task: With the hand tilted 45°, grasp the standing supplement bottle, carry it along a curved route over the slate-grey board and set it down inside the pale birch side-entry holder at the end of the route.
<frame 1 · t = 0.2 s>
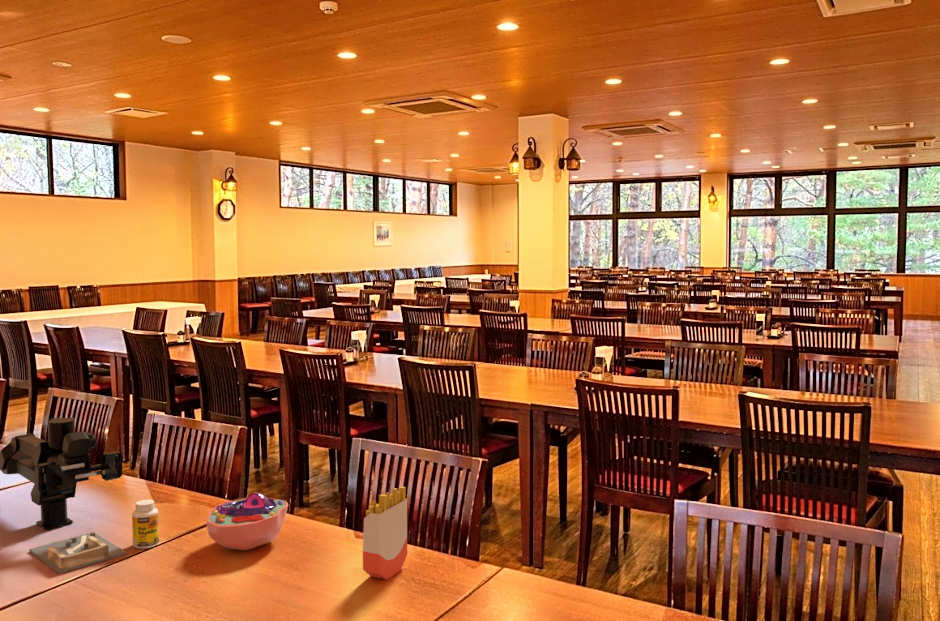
hand: (95, 479, 175), 17 cm above the table, tool horizontal, fingers open, 9 cm apart
french fries container: (385, 573, 165), on the table
cell model: (248, 545, 180), on the table
end holder: (77, 559, 171), resting on route board
route board: (77, 553, 175), on the table
supplement bottle: (146, 546, 179), on the table
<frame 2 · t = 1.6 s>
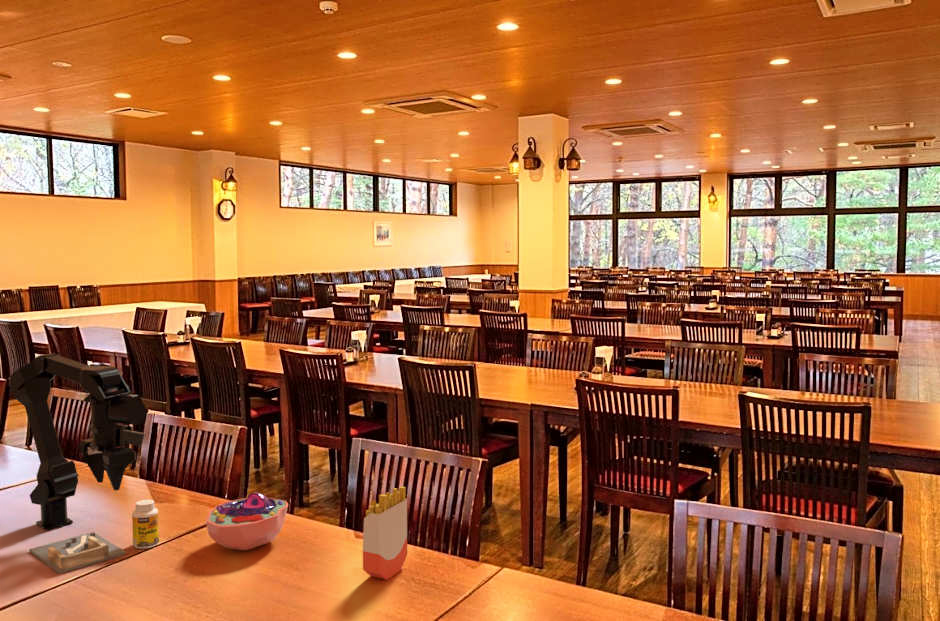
hand: (108, 486, 184), 12 cm above the table, tool pointing down, fingers open, 9 cm apart
nothing on the table moved.
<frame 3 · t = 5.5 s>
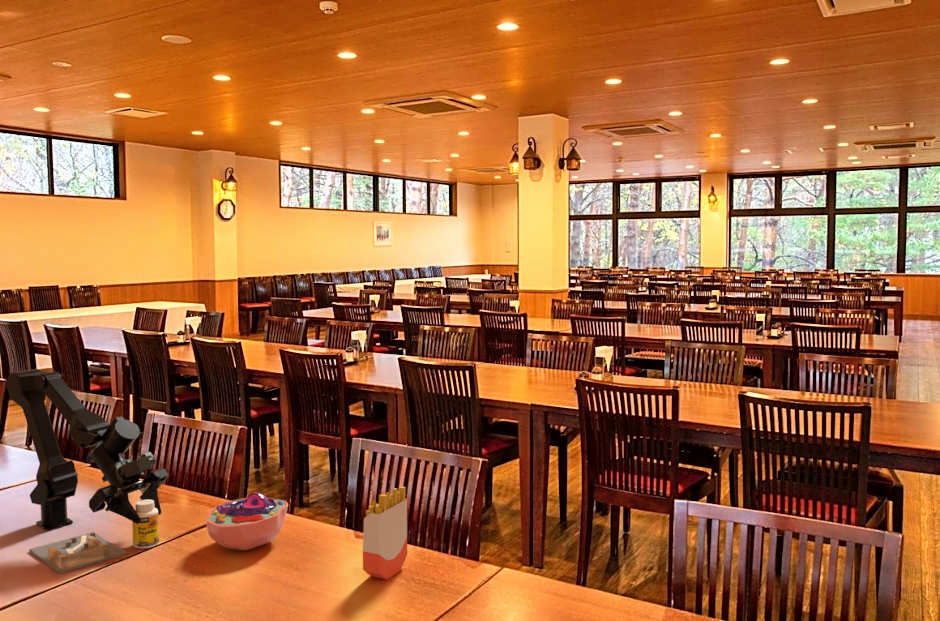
hand: (149, 518, 178), 7 cm above the table, tool tilted 45°, fingers closed on supplement bottle, 6 cm apart
supplement bottle: (146, 546, 179), on the table, touching gripper
everything else where it was.
when the fingers open (8 cm above the table, at t = 9.5 s): supplement bottle drops 1 cm, resting on route board.
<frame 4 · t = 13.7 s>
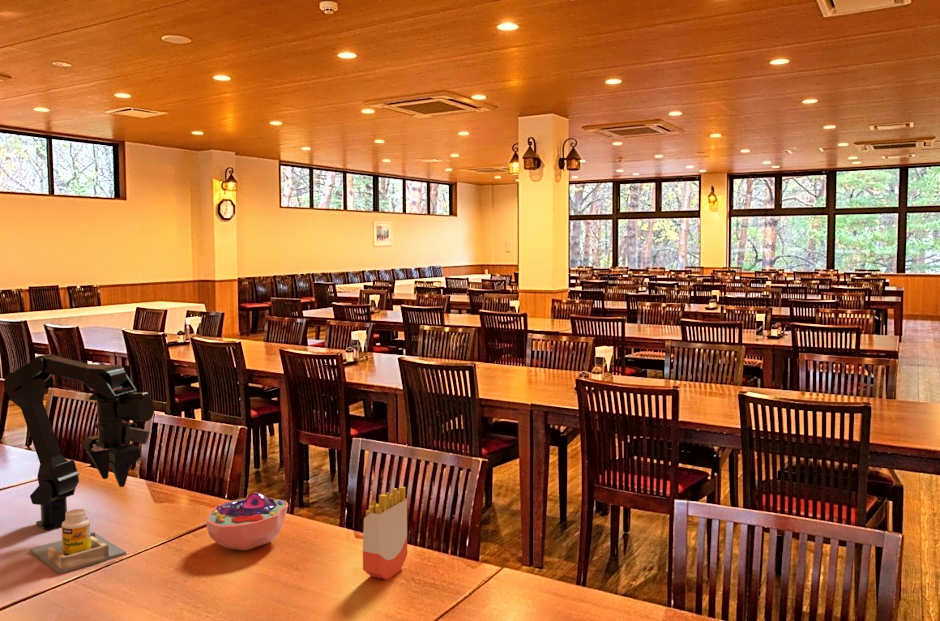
hand: (113, 482, 187), 12 cm above the table, tool pointing down, fingers open, 9 cm apart
supplement bottle: (77, 557, 171), resting on route board
everything else where it was.
at the end: supplement bottle inside the target area (0.2 cm from its centre), resting on route board; supplement bottle tilted 0°; the gripper is holding nothing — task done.
